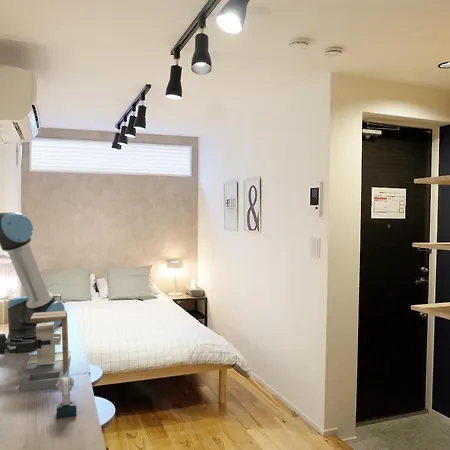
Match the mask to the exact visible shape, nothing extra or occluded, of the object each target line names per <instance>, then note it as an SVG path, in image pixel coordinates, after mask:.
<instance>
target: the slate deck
mask: <svg viewBox="0 0 450 450" xmlns="http://www.w3.org/2000/svg"><path fill="white" fill-rule="evenodd" d="M68 356H69V363H68V370H67V371H63V351H57V352H56V351H55V362H51V363H42V364H37V353H36V354H31V355H30V357H29V359H28V361H27V365H26V366H25V369H24V372H23V375H22V376H21V379H20V382H19V392H20V393H22V392H30V391H31V392H32V391H39V390H48V389H56V388H57V389H58V387H56V384H57V382H58V380H59V379H61V378H63V377H69V372H70V366H71V365H70V364H71V351H70V350H68Z"/></svg>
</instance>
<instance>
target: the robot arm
mask: <svg viewBox="0 0 450 450" xmlns="http://www.w3.org/2000/svg"><path fill="white" fill-rule="evenodd" d="M33 226H34V225H33V224H32V221H31V219H30V218H29V217H28V216H27V215H25V214H23V213H21V212H14V211H13V212H12V211H11V212H0V248H1V250H2V251H4V252H6V253H8V256H9V259H10V261H11V263H12V265H13V268H14V270H15V272H16V275H17V278H18V279H19V282H20V284H21V286H22V289H23V291H24V293H25V295H24V296H19V297H18V296H17V297H14V298H10V299H9V300H8V301H7V308H6V310H7V323H8V324H7V325H8V334H7V336H6V334H5V333H0V356H1V355H5V354H6V353H12V352H18V353H26V352H27V353H28V352H31V350H32V351H35V350H37V349H38V348H39V349H41V345H42V346H50V345H55V346H58V345H60V346H61V342H62V332H61V333H60V332H59V333H54V336H55V337H54V338H43V339H41V340H42V341H41V340H40V339H39V340H36V326H37V324H38V323H50V322H54V328H57V327H59V326H58V325H59V324H60V323H61V321H62V320H61V321H48V322H36V323H30V318H31V317H32V315H33V313H40V312H53V311H66V308H65V305H64V303H63V301H62V302H60V301H56V300H55V297H54V295H55V294H54V293H53V292H51V291H49V290H48V288H47V285H46V283H45V280H44V278H43V276H42V272H41V271H40V268H39V266H38V263H37V261H36V259H35V256H34V255H35V254H34V253H33V251H32V248H31V246H30V243H31V241H32V238H31V237H32V235H33V231H34V230H33V229H34V227H33ZM7 351H8V352H7Z"/></svg>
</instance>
